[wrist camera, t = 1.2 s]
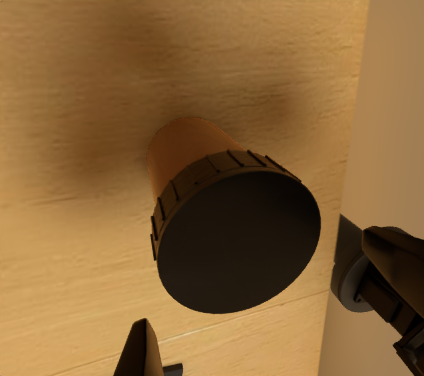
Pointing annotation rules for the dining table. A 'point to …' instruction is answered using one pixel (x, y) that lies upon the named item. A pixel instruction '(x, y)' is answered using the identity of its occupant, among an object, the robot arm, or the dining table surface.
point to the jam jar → (183, 148)
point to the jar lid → (233, 232)
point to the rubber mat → (173, 370)
